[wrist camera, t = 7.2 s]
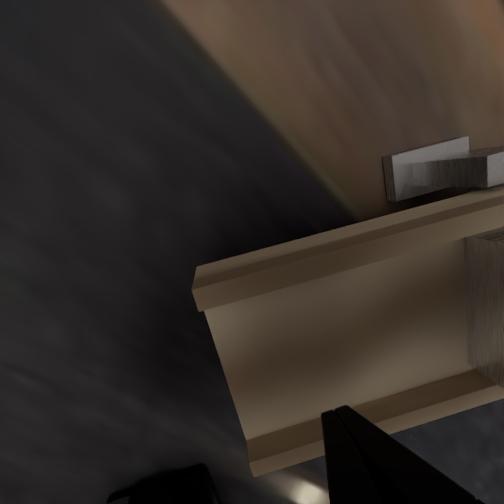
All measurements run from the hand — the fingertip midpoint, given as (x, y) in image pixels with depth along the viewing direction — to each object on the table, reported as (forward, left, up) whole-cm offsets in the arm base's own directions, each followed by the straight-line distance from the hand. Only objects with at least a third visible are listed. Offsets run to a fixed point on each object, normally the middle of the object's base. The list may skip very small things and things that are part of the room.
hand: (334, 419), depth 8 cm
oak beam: (0, -10, -4) cm, 11 cm away
